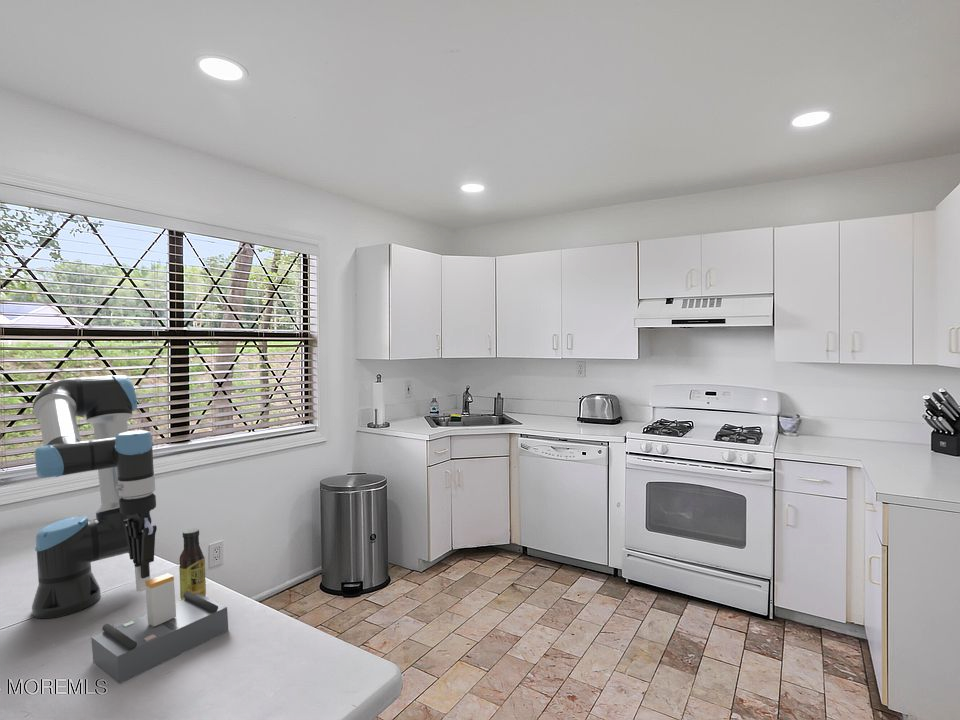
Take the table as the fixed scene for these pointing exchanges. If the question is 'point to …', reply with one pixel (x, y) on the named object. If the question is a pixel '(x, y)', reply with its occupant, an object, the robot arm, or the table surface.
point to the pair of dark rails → (132, 644)
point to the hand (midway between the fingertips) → (143, 589)
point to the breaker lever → (160, 599)
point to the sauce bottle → (192, 565)
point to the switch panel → (157, 639)
